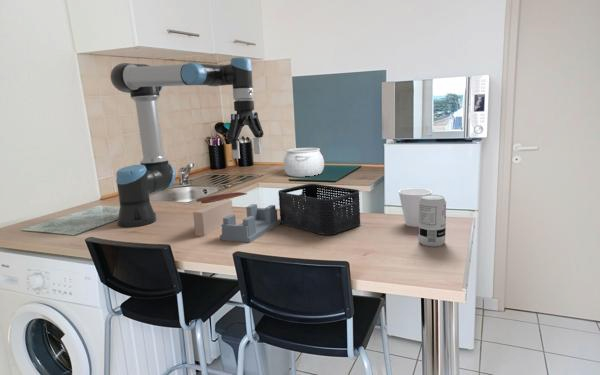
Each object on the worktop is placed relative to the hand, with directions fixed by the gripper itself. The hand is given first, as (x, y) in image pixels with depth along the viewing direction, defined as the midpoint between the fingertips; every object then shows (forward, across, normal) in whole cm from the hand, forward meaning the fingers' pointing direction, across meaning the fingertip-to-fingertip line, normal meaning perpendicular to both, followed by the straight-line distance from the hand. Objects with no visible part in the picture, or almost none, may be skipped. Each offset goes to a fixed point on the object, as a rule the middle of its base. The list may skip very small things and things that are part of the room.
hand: (247, 156), depth 165 cm
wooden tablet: (+28, +33, +42) cm, 61 cm away
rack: (+27, -10, -7) cm, 29 cm away
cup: (+27, +20, -60) cm, 68 cm away
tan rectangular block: (+27, -12, +9) cm, 31 cm away
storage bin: (+27, +8, -26) cm, 39 cm away
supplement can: (+27, +1, -70) cm, 75 cm away
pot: (+27, +107, +36) cm, 116 cm away
